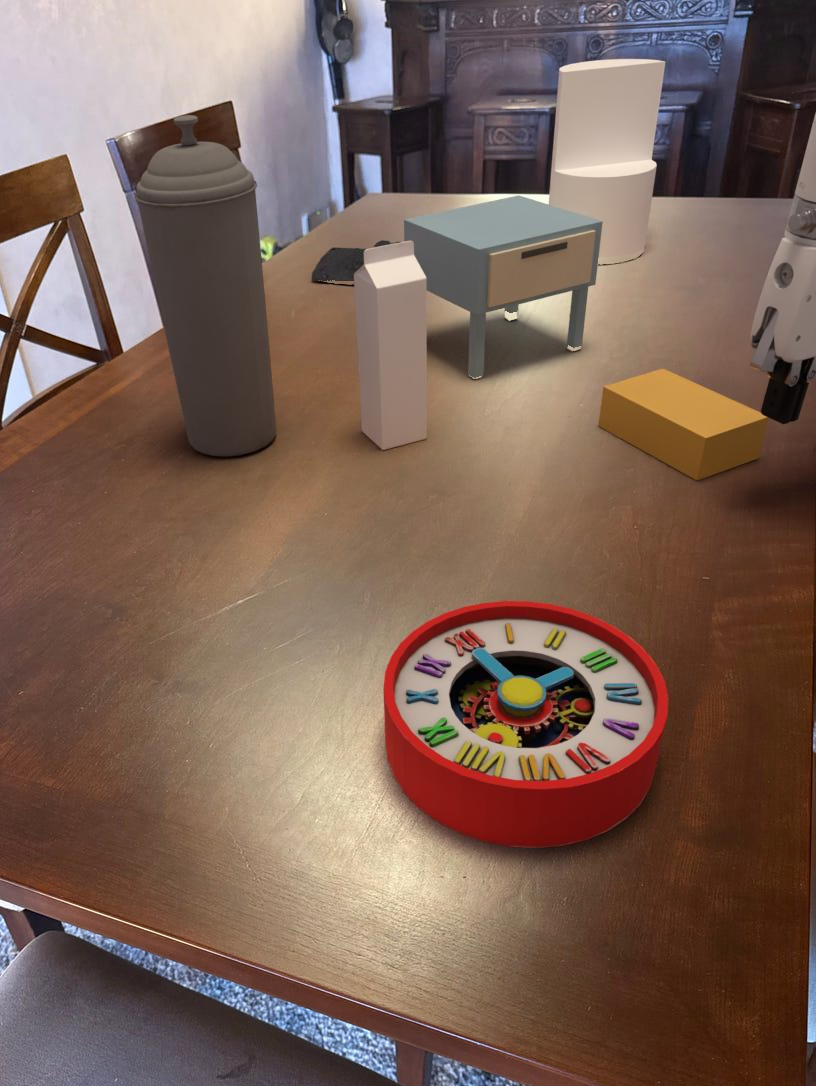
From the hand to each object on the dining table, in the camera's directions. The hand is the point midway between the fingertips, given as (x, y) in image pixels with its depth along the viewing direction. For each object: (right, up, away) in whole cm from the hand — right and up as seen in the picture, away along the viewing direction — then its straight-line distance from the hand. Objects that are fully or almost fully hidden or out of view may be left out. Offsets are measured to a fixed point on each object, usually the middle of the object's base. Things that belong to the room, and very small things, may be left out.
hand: (778, 417), depth 89 cm
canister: (-57, +3, +22) cm, 61 cm away
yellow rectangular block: (-5, +1, +14) cm, 15 cm away
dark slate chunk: (-37, +43, +70) cm, 90 cm away
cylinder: (+2, +48, +72) cm, 86 cm away
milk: (-37, +3, +20) cm, 42 cm away
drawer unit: (-21, +20, +40) cm, 49 cm away
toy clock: (-30, -30, -21) cm, 47 cm away
